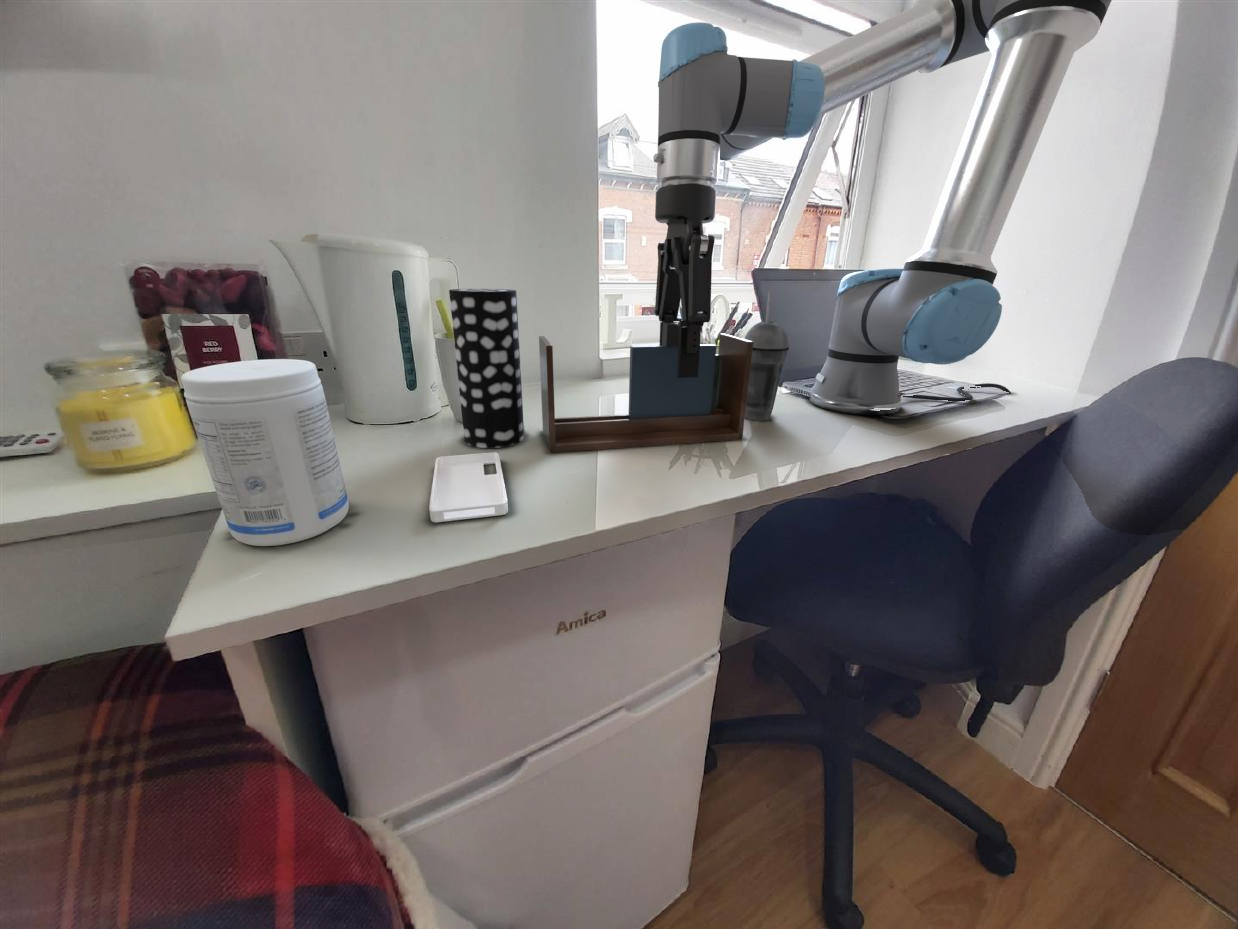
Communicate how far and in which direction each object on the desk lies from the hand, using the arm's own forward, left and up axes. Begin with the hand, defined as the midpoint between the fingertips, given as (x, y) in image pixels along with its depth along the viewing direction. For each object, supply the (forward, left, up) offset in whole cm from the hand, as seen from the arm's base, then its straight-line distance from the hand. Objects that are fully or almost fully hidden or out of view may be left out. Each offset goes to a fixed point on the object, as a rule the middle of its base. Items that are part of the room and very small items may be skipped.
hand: (677, 372), depth 69 cm
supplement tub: (+44, +18, -10) cm, 49 cm away
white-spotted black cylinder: (+26, -4, -10) cm, 28 cm away
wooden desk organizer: (+5, -1, -10) cm, 11 cm away
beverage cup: (-17, -7, -10) cm, 21 cm away
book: (0, -1, -8) cm, 8 cm away
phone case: (+29, +13, -10) cm, 33 cm away
